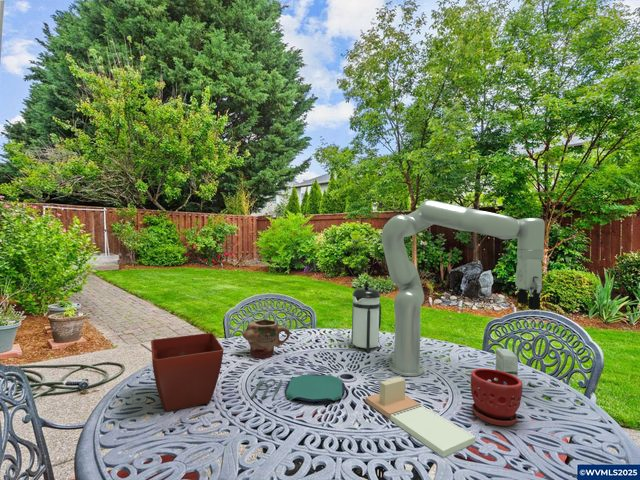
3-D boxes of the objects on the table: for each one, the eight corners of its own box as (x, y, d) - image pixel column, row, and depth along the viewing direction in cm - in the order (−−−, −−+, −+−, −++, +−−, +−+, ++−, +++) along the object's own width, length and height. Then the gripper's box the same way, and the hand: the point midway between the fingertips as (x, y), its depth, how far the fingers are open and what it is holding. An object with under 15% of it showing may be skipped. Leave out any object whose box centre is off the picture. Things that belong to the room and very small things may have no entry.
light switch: (365, 401, 104) (365, 377, 104) (394, 393, 110) (395, 370, 110) (389, 418, 94) (390, 392, 94) (420, 408, 100) (420, 383, 100)
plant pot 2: (520, 435, 88) (522, 390, 88) (466, 420, 95) (467, 378, 95) (521, 414, 99) (523, 373, 99) (473, 401, 106) (474, 363, 106)
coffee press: (386, 353, 148) (388, 285, 147) (350, 352, 148) (351, 284, 147) (380, 341, 165) (381, 280, 165) (347, 340, 165) (348, 279, 165)
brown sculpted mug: (288, 349, 151) (289, 318, 150) (290, 359, 138) (291, 325, 138) (243, 350, 148) (243, 318, 147) (240, 360, 136) (241, 326, 135)
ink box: (518, 391, 114) (519, 356, 114) (502, 389, 115) (503, 355, 115) (509, 380, 122) (510, 348, 122) (494, 379, 123) (495, 347, 123)
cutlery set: (346, 408, 100) (346, 400, 100) (247, 404, 102) (247, 396, 102) (345, 380, 120) (345, 374, 120) (262, 378, 122) (262, 371, 122)
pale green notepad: (390, 420, 94) (390, 414, 94) (420, 409, 100) (421, 404, 100) (443, 457, 78) (443, 450, 78) (475, 442, 84) (475, 436, 84)
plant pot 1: (150, 421, 90) (152, 359, 90) (149, 391, 107) (150, 339, 107) (223, 406, 99) (224, 349, 99) (211, 381, 116) (212, 332, 116)
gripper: (509, 253, 122) (507, 300, 122) (527, 256, 105) (525, 310, 105) (531, 254, 120) (529, 302, 121) (554, 257, 103) (552, 312, 104)
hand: (527, 306), depth 113 cm, fingers open, 9 cm apart
